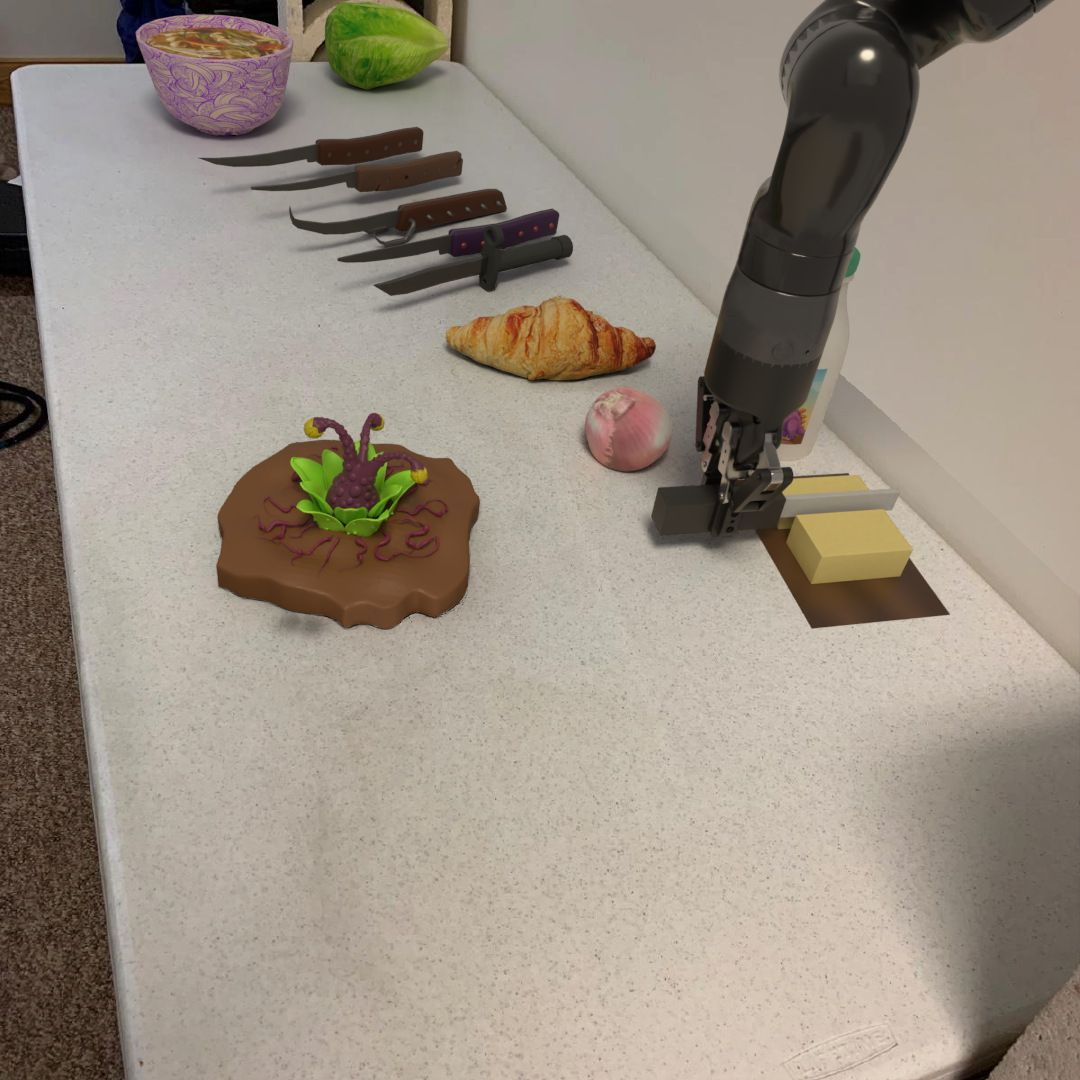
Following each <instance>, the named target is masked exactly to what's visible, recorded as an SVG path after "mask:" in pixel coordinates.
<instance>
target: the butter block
mask: <svg viewBox="0 0 1080 1080" xmlns="http://www.w3.org/2000/svg"><path fill="white" fill-rule="evenodd" d="M786 543H787V545H788V547H789V548H790V550H791V552H792V553H793V555H794V557H795V558H796V560H797V562H798V563H799V565H800V567H801V568H802V570H803V572H804V573H805V575H806V577H807V578H808V580H809V582H810V583H811V584H820V583H831V582H842V581H854V580H865V579H876V578H888V577H899V576H901V574H902V571H903V569H904V567H905V565H906V563H907V561H908V559H909V558H910V557H911V555H912V553H913V551H914V549H913V546H911V544H910V542H908V540H907V538H905V536H904V535H903V533H902V531H901V530H900V529H899V528H898V526H897V525H896V524H895V522H894V521H893V519H891V517H890V515H889V514H888V513H887V511H885V510H884V509H877V510H862V511H848V512H833V513H819V514H805V515H796V517H795V519H794V522H793V525H792V528H791V530H790V533H789V536H788V538H787V541H786Z"/></svg>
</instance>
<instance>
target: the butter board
mask: <svg viewBox="0 0 1080 1080" xmlns="http://www.w3.org/2000/svg"><path fill="white" fill-rule="evenodd" d="M846 475H850V473H849V472H844V473H843V472H841V473H828V474H827V473H825V474H810V475H809V474H808V475H807V474H806V475H793V476H794V477H793V479H796V478H812V477H829V476H846ZM744 481H745V479H737V480H736V481H735V482H734V483H744ZM754 530H755V533H756V534H757V536H758V538H759V539H760V542H761V543H762V545H763V547H764V548H765V550H766V552H767V554H768V555H769V558H770V559H771V560H772V562H773V565H774V566H775V568H776V569H777V571H778V573H779V575H780V576H781V578H782V580H783V581H784V583H785V584H786V586H787V588H788V590H789V592H790V593H791V596H792V598H794V601H795V603H796V604H797V606H798V607H799V610H800V611H801V613H802V614H803V617H804V618H805V620H806V621H807V623H808V625H809V627H810V629H822V628H832V627H842V626H852V625H862V624H873V623H881V622H882V623H884V622H892V621H893V622H894V621H901V620H912V619H923V618H931V617H933V618H934V617H942V616H950V615H951V613H950V612H949V611H948V610H947V607H946V606H945V605H944V604H943V602H942V601H941V600H940V597H938V595H937V593H936V592H935V591H934V589H933V588H932V587H931V586H930V584H929V583H928V582H927V580H926V579H925V577H924V576H923V574H922V572H921V571H920V570H919V569H918V567H917V566H916V565H915V563H914V562H913V560H912V559H911V558H910V557H909V559H908V561H907V563H906V565H905V567H904V569H903V571H902V574H901V576H899V577H888V578H876V579H865V580H854V581H842V582H831V583H820V584H811V583H810V582H809V580H808V578H807V577H806V575H805V573H804V572H803V570H802V568H801V567H800V565H799V563H798V562H797V560H796V558H795V557H794V555H793V553H792V552H791V550H790V548H789V547H788V545H787V543H786V541H787V538H788V536H789V533H790V530H791V529H778V528H777V527H776V528H767V529H754Z"/></svg>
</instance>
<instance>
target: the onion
mask: <svg viewBox="0 0 1080 1080" xmlns="http://www.w3.org/2000/svg"><path fill="white" fill-rule="evenodd" d="M673 426H674V425H673V421H672V417H671V415H670V412H669V410H668V409H667V408H666V407H665V405H664V404H663V403H662V402H661V401H660V400H658V399H657V398H656V397H655V396H653V395H651V394H649V393H647V392H645V391H642V390H639V389H637V388H633V387H629V386H628V387H627V386H618V387H613V388H610V389H609V390H607V391H604V392H603V393H601V394H600V395H599V396H598V397H597V398H596V399H595V400H594V401H593V402H592V404H591V405H590V407H589V409H588V411H587V413H586V416H585V422H584V429H585V436H586V441H587V442H588V447H589V450H590V451H591V454H592V455H593V457H594V458H595V460H596V461H597V462H599V463H600V464H602V466H605V467H606V468H608V469H611V470H615V471H618V472H635V471H639V470H642V469H644V468H647V467H648V466H650V465H652V464H653V463H655V461H658V459H660V458H661V456H663V454H664V453H665V452H666V450H667V449H668V447H669V446H670V444H671V440H672V436H673V431H674V429H673V428H674V427H673Z"/></svg>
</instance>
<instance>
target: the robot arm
mask: <svg viewBox="0 0 1080 1080" xmlns="http://www.w3.org/2000/svg"><path fill="white" fill-rule="evenodd" d="M1053 2H1055V0H823V1H821V3H820V4H819V5H817V6H816V7H815V8H814V9H813V10H812V11H811V12H810V13H809V14H808V15H807V16H805V18H803V20H802V21H801V22H800V23H799V25H798V26H797V27H796V28H795V29H794V31H793V32H792V34H791V36H790V37H789V39H788V40H787V42H786V44H785V46H784V49H783V52H782V54H781V58H780V62H779V69H778V81H779V87H780V92H781V96H782V98H783V100H784V103H785V106H786V109H787V115H786V119H785V125H784V131H783V134H782V138H781V142H780V146H779V149H778V152H777V155H776V159H775V162H774V166H773V170H772V172H771V175H770V176H769V177H767V178H766V179H765V180H764V181H763V182H762V183H761V184H760V186H759V187H758V189H757V191H756V194H755V196H754V198H753V201H752V204H751V207H750V210H749V214H748V216H747V220H746V223H745V227H744V231H743V234H742V239H741V243H740V248H739V251H738V254H737V258H736V262H735V265H734V268H733V270H732V273H731V275H730V277H729V279H728V282H727V284H726V287H725V290H724V294H723V298H722V301H721V305H720V310H719V313H718V317H717V320H716V325H715V329H714V333H713V336H712V339H711V340H712V341H711V344H710V349H709V352H708V355H707V360H706V364H705V368H704V372H703V375H701V376H699V377H698V378H697V393H696V396H697V397H696V414H695V415H696V416H695V437H694V440H695V441H694V446H695V450H696V452H697V453H702V457H701V461H700V467H701V470H702V472H703V475H702V478H701V482H700V485H711V484H720V489H719V496H717V499H716V503H715V507H714V510H713V514H712V517H711V521H710V524H709V527H708V531H709V533H708V534H709V535H710V536H711V538H713V539H719V538H720V539H721V538H731V537H734V536H736V535H737V533H738V532H739V530H738V528H739V525H740V522H741V519H742V516H743V513H744V512H748V511H763V510H764V509H765V508H766V507H767V506H768V505H769V504H770V503H771V502H773V501H774V500H775V499H776V498H777V497H778V496H779V495H780V494H781V493H782V492H783V491H784V490H785V489H786V488H787V487H788V486H789V485H790V484H791V483H792V481H793V477H794V476H795V475H794V471H793V468H792V467H791V466H781V463H780V462H781V461H779V458H778V455H777V451H776V450H777V449H778V448H779V446H780V445H781V442H782V431H783V424H784V420H785V419H786V418H787V417H788V416H789V415H791V414H792V413H793V412H795V411H796V410H798V409H799V408H800V407H801V406H802V405H803V404H804V403H805V402H806V400H807V397H808V395H809V392H810V389H811V386H812V383H813V380H814V377H815V374H816V371H817V368H818V366H819V362H820V360H821V357H822V354H823V351H824V348H825V345H826V342H827V339H828V336H829V333H830V330H831V328H832V325H833V322H834V318H835V314H836V310H837V305H838V299H839V294H840V290H841V286H842V283H843V280H844V277H845V274H846V271H847V268H848V265H849V263H850V260H851V257H852V254H853V251H854V248H855V247H856V245H857V242H858V238H859V235H860V232H861V231H860V230H861V226H862V223H863V222H864V219H865V217H867V216H866V215H867V214H868V213H869V211H870V210H871V208H872V207H873V205H874V203H875V202H876V200H877V199H878V197H879V195H880V193H881V191H882V189H883V187H884V186H885V184H886V182H887V180H888V178H889V177H890V175H891V173H892V171H893V170H894V167H895V166H896V163H897V161H898V159H899V157H900V156H901V153H902V152H903V149H904V147H905V145H906V143H907V139H908V137H909V135H910V132H911V129H912V125H913V123H914V119H915V115H916V112H917V108H918V103H919V98H920V87H921V86H920V85H921V80H920V79H921V77H920V70H922V69H923V68H925V67H926V66H928V65H929V64H931V63H932V62H934V61H935V60H937V59H939V58H940V57H943V56H944V55H945V54H947V53H948V52H950V51H951V50H953V49H955V48H956V47H958V46H959V47H960V46H962V45H963V44H978V45H979V44H982V45H983V44H984V45H985V44H990V43H994V42H996V41H999V40H1000V39H1002V38H1004V37H1006V36H1007V35H1009V34H1011V33H1012V32H1014V31H1015V30H1017V29H1018V28H1020V27H1021V26H1022V25H1024V24H1025V23H1026V22H1028V21H1029V20H1031V19H1032V18H1033V17H1034V15H1037V14H1039V13H1040V12H1041V11H1043V10H1044V9H1045V8H1047V7H1048V6H1049V5H1051V4H1052V3H1053ZM740 479H745V481H744V483H743V484H742V485H741V486H740V487H733V486H734V482H735V481H736V480H740Z"/></svg>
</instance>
